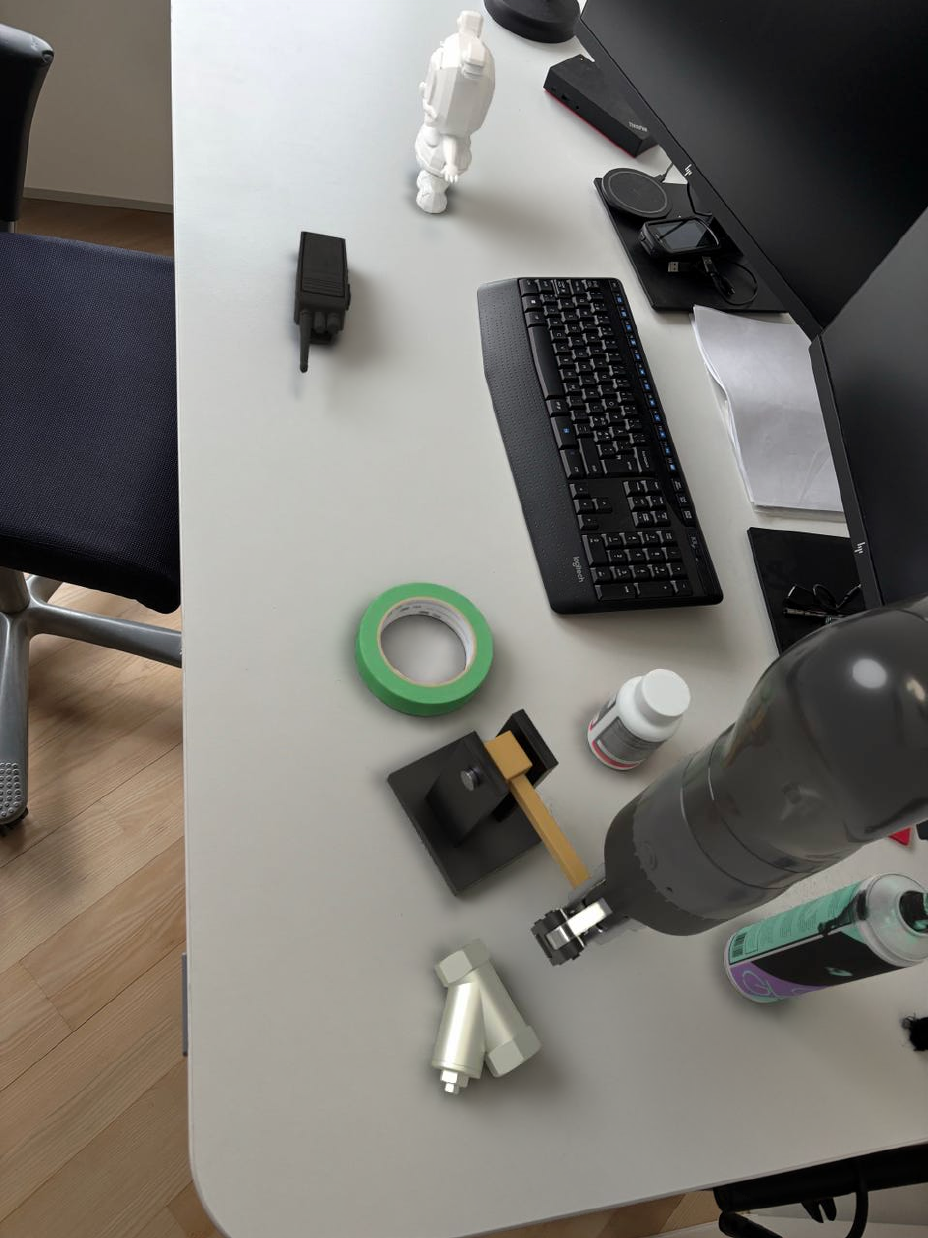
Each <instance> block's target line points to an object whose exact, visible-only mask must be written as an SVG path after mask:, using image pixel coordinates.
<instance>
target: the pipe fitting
mask: <svg viewBox="0 0 928 1238" xmlns="http://www.w3.org/2000/svg"><path fill="white" fill-rule="evenodd" d="M490 960H491V953H489V951H488V949H487V947H486V946H485V944H484V942H483V940H482V939H481V938H475V939H474V940H472V941H471V942H469V943H468V944H466V945H464V946H462V947H461V948H460V949H458V950H456V951H455V952H453V953H452V954H450V955H448V956H447V957H446V958H444V959H442V960H441V961H440V962H438V963H437V964H435V965H434V971H435V972H436V974H437V976H438V978H439V980H440V981H441V984H442V986H443V987H444V988H447V989H448V990H447V995H446V999H445V1003H444V1007H443V1011H442V1016H441V1021H440V1024H439V1029H438V1033H437V1038H436V1042H435V1047H434V1051H433V1055H432V1059H431V1067H433V1068H436V1069H438V1070H441V1071H440V1075H439V1082H442V1083H445V1085H444V1088H443V1089H444V1092H447V1093H450V1094H454V1095H459V1091H460V1088H467V1087H468V1083H469V1078H472V1079H477V1080H479V1079H481V1077H482V1072H483V1067H484V1063H485V1064H486V1065H487V1067H488V1069H489V1071H490V1073H491V1075H492V1076H493V1077H495V1078H500V1077H502V1076H504V1075H506V1074H508V1073H510V1072H511V1071H513V1070H514V1069H516V1068H517V1067H518V1066H520V1065H522V1064H523V1063H525V1062H526V1061H527V1060H529V1059H530V1058H531V1057H533V1056H534V1055H535V1054H536V1053H538V1052H539V1051H540V1049H541V1047H542V1043H541V1041H540V1040H539V1038H538V1037H537V1035H536V1033H535V1031H534V1029H533V1028H532V1026H530V1025H526V1022H525V1021H524V1019H523V1018H522V1016H521V1014H520V1012H519V1011H518V1008H517V1007H516V1005H515V1003H514V1002H513V1000H512V998H511V996H510V994H509V993H508V991H507V989H506V988H505V986H504V984H503V983H502V981H501V979H500V977H499V976H498V973H497V972H496V970H495V968H494V966H493V964H492V963H491V961H490Z"/></svg>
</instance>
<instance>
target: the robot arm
mask: <svg viewBox="0 0 928 1238" xmlns="http://www.w3.org/2000/svg"><path fill="white" fill-rule="evenodd" d="M926 821H928V591H926V592H923V593H920V594H917V595H914V596H910V597H907V598H904V599H901V600H898V601H894V602H891V603H888V604H884V605H882V606H878V607H874V608H871V609H868V610H865V611H861V612H858V613H854V614H851V615H848V616H845V617H842V618H839V619H836V620H834V621H832V622H830V623H826V624H825V625H823V626H821V627H819V628H817V629H815V630H814V631H812V632H810V633H809V634H807V635H805V636H804V637H802V638H801V639H799V640H798V641H796V642H795V643H794V644H792V645H791V646H790V647H788V648H787V649H786V650H784V651H783V652H782V653H781V654H780V655H778V657H776V658H775V659H774V660H773V661H772V662H771V663H770V664H769V665H768V667H767V668H765V670H764V671H763V673H762V674H761V675H760V677H759V678H758V680H757V682H756V684H755V685H754V687H753V689H752V691H750V694H749V696H748V698H747V700H746V701H745V703H744V705H743V706H742V708H741V709H740V712H739V714H738V716H737V718H736V721H735V722H733V723H732V724H730V725H728V727H726V728H725V729H724V730H723V731H721V732H720V733H719V734H718V735H717V736H716V737H714V738H713V739H712V740H711V741H709V742H708V743H707V744H705V745H704V746H703V748H700V749H699V750H697V751H695V752H693V753H691V754H689V755H687V756H685V757H683V758H682V759H680V760H679V761H677V762H676V763H674V764H673V765H672V766H671V767H669V768H668V769H667V770H666V771H665V772H664V773H663V774H661V775H660V776H659V777H657V779H655V780H654V781H653V782H651V784H649V785H648V786H647V787H646V788H644V789H643V790H642V791H641V792H640V793H639V794H637V795H636V796H635V797H634V798H632V799H631V800H630V801H629V802H628V803H627V804H626V805H624V806H623V807H622V808H621V809H620V810H619V811H618V812H617V813H616V815H615V816H614V818H613V819H612V821H611V822H610V824H609V827H608V829H607V832H606V835H605V838H604V839H605V840H604V844H603V845H604V847H603V860H604V861H603V862H602V863H601V864H598V865H597V867H596V866H595V868H594V869H593V870H594V871H593V875H591V877H590V878H589V879H587V880H586V881H584V882H583V883H582V884H580V885H579V886H577V887H576V888H574V889H573V888H572V890H570V891H569V892H568V893H567V899H568V903H567V904H566V905H564V906H562V905H560V906H558V907H556V908H555V909H554V910H553V909H550V910H549V911H547V912H546V913H545V914H544V917H543V918H539V919H538V920H536V921H535V922H533V926H532V927H530V928H529V930H530V932H531V933H532V935H533V936H534V938H535V940H536V941H537V943H538V945H539V947H540V948H541V950H542V951H543V953H544V954H545V956H546V958H547V959H548V961H549V963H550V964H551V966H552V968H554V967H556V966H562V965H563V964H565V963H567V962H568V961H570V960H571V961H575V960H576V959H578V958H579V957H581V954H580V953H582V952H583V951H584V950H585V949H586V948H587V947H588V945H589V944H590V943H591V942H593V943H595V944H596V945H598V946H604V945H606V944H608V943H609V942H611V941H612V940H614V939H615V938H617V937H619V936H621V935H622V934H624V933H625V932H627V931H633V932H636V931H639V930H640V929H641V928H643V927H647V928H649V929H652V930H653V931H656V932H658V933H662V934H664V935H669V936H675V937H690V936H696V935H699V934H702V933H705V932H707V931H709V930H712V929H714V928H716V927H718V926H720V925H722V924H724V923H727V922H729V921H731V920H733V919H735V918H738V917H740V916H742V915H744V914H746V913H749V912H751V911H753V910H756V909H757V908H759V907H762V906H764V905H766V904H768V903H770V902H772V901H774V900H775V899H777V898H778V897H780V896H781V895H783V894H784V893H786V892H787V891H788V890H789V889H790V888H791V887H792V886H794V885H795V884H797V883H799V882H801V881H803V880H806V879H808V878H810V877H813V876H814V875H816V874H819V873H821V872H823V871H825V870H827V869H829V868H831V867H833V866H835V865H837V864H839V863H840V862H842V861H844V860H846V859H847V858H849V857H851V856H852V855H853V854H856V852H858V851H859V850H860V849H862V848H863V847H864V846H866V845H869V844H871V843H874V842H877V841H879V840H882V839H884V838H887V837H890V836H892V835H894V834H897V833H900V832H902V831H905V830H907V829H910V828H912V827H913V826H914V827H915V826H916V825H919V824H921V823H923V822H926ZM596 885H597V886H596ZM594 886H596V887H594ZM574 911H575V912H577V913H578V914H577V915H575V916H574V915H573V912H574ZM585 931H587V932H585Z"/></svg>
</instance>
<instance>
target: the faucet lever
mask: <svg viewBox="0 0 928 1238" xmlns="http://www.w3.org/2000/svg"><path fill="white" fill-rule="evenodd" d="M495 737H496V736H495ZM495 737H493V739H490V740H488V741H487V742H485V743H483V744H484V745H483V748H484V749H485V751H486V752H487V754H488V756H489V757H490V759H491V760H492V762H493V764H494V765H495V767H496V768H497V770H498V771H499V773H500V775H501V776H502V778H503V779H504V781H505V783H506V784H507V786H508V787H509V789H510V791H511V792H512V794H513V796H514V797H515V799H516V800H517V802H518V803H519V805H520V806H521V808H522V810H523V811H524V813H525V814H526V816H527V817H528V819H529V820H530V822H531V824H532V825H533V827H534V828H535V830H536V831H537V833H538V834H539V836H540V838H541V839H542V841H543V842H542V843H543V844H544V845H545V846H546V849H547V850H548V852H549V853H550V855H551V856H552V858H553V859H554V861H555V862H556V864H557V866H558V867H559V869H560V870H561V872H562V873H563V875H564V877H565V878H566V879H567V881H568V883H569V885H570V886H571V887H572V890H573V889H574V888H576V887H577V886H579V885H580V884H582V883H583V882H584V881H586V880H587V879H589V878H590V877H592V875H591V874H590V873H589V871H588V869H587V868H586V867H585V865H584V863H583V862H582V860H581V859H580V857H579V856H578V854H577V853H576V851H575V849H574V848H573V847H572V845H571V844H570V842H569V840H568V839H567V837H566V836H565V834H564V833H563V830H561V827H559V825H558V824H557V822H556V821H555V819H554V818H553V816H552V815H551V813H550V812H549V810H548V808H547V807H546V805H545V803H544V802H543V801H542V800H541V798H540V796H539V795H538V793H537V791H536V789H535V790H534V788H533V787H532V785H531V784H530V782H529V781H528V779H527V778H526V776H525V774H526V773H527V772H528V770H529V769H530V768H531V767H532V763H531V762H530V760H529V759H528V757H527V756H526V754H525V753H524V751H523V749H522V748H521V746H520V745H519V743H518V742H517V740H516V739H515V737H514V736H513V734H512V733H511V731H508V732H506V733H504V734H502V735H500V736H498V737H496V738H495ZM597 885H598V884H597ZM597 885H596V886H597ZM596 886H594V887H596ZM572 913H573V915H574V916H575V915H577V914H578V913H577V912H575V911H572Z"/></svg>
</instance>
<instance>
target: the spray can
mask: <svg viewBox="0 0 928 1238" xmlns="http://www.w3.org/2000/svg"><path fill="white" fill-rule="evenodd" d="M926 961H928V889H927V888H926V887H925V886H924V885H923V884H922V883H921V882H919V881H918V880H917V879H915V878H913V877H912V876H910V875H908V874H905V873H902V872H897V871H891V872H885V873H878V874H875V875H873V876H870V877H867V878H864V879H861V880H860V881H857V882H854V883H852V884H850V885H847V886H845V887H842V888H839V889H837V890H835V891H833V892H832V891H831V892H830V893H827V894H825V895H822V896H820V897H817V898H815V899H812V900H810V901H807V902H805V903H803V904H800V905H797V906H795V907H792V908H790V909H787V910H785V911H783V912H780V913H778V914H775V915H772V916H770V917H768V918H765V919H762V920H760V921H757V922H754V923H752V924H751V925H748V926H746V927H743V928H740V929H738V930H737V931H735V932H733V933H732V935H731V936H730V937H729V938H728V940H727V942H726V944H725V947H724V949H723V964H724V969H725V973H726V975H727V978H728V980H729V982H730V983H731V985H732V986H733V987H734V989H735V990H736V991H737V992H738V993H739V994H740V995H741V996H743V997H744V998H746V999H747V1000H749V1001H752V1002H754V1003H757V1004H766V1003H774V1002H777V1001H781V1000H785V999H790V998H794V997H797V996H801V995H806V994H809V993H813V992H817V991H821V990H825V989H829V988H833V987H836V986H841V985H844V984H849V983H852V982H856V981H861V980H864V979H868V978H871V977H876V976H880V975H883V974H888V973H892V972H896V971H899V970H904V969H907V968H911V967H915V966H917V965H921V964H922V963H925V962H926Z"/></svg>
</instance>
